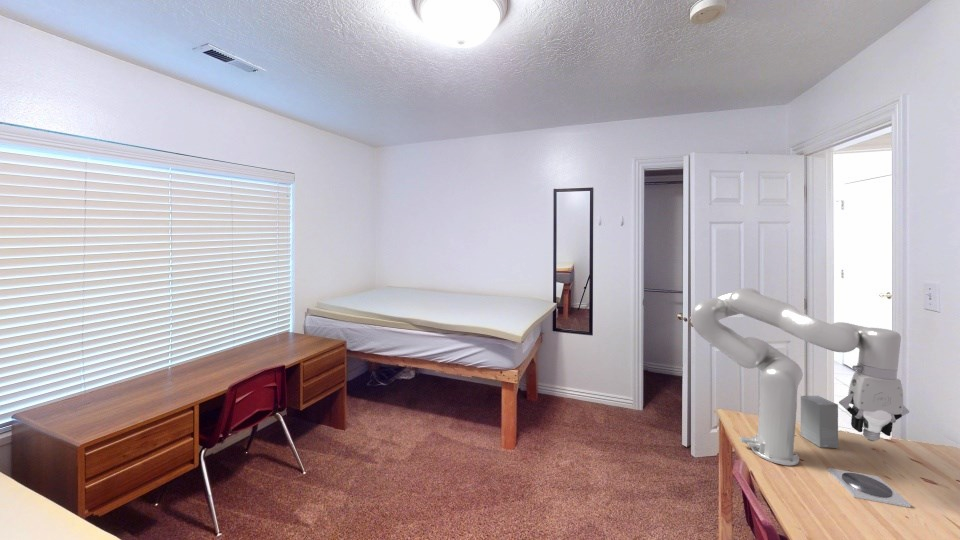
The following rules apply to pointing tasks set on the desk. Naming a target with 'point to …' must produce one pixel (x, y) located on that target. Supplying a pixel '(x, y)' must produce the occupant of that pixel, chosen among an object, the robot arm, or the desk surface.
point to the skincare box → (819, 421)
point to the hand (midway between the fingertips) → (870, 431)
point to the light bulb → (874, 423)
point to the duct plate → (868, 487)
